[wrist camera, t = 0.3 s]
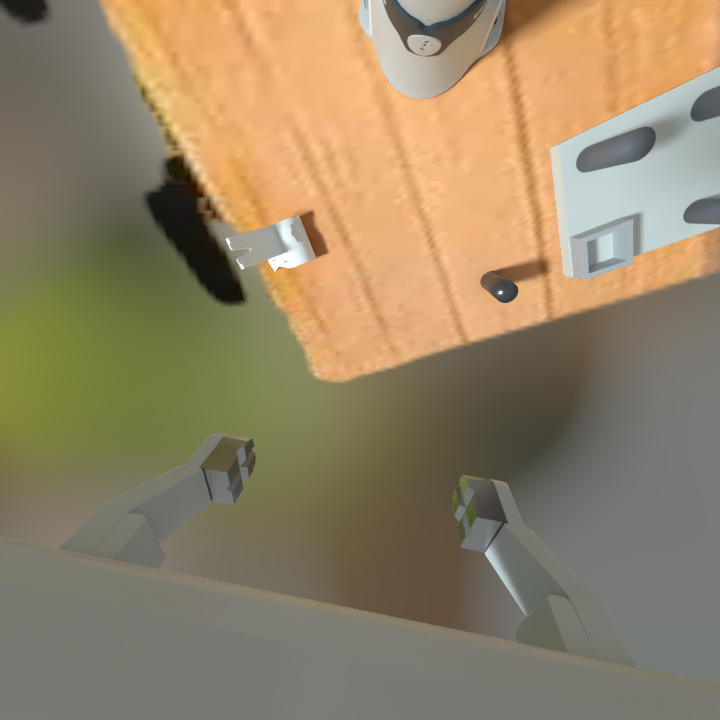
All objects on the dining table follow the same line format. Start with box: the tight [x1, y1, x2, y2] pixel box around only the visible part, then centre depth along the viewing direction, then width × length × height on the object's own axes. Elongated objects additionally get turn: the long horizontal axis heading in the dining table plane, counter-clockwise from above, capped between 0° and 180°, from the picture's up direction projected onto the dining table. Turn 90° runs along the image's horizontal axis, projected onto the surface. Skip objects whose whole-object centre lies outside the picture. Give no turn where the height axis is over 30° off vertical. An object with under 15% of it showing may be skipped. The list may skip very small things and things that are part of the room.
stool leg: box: [481, 272, 518, 303], centre depth 46 cm, size 3×3×9 cm
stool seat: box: [550, 66, 720, 280], centre depth 36 cm, size 20×20×12 cm
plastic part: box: [226, 216, 316, 272], centre depth 46 cm, size 8×10×12 cm
